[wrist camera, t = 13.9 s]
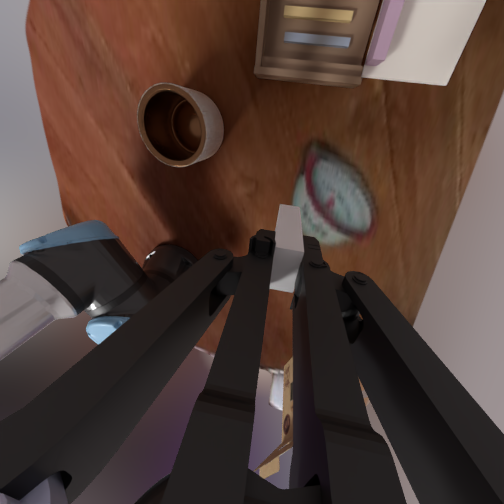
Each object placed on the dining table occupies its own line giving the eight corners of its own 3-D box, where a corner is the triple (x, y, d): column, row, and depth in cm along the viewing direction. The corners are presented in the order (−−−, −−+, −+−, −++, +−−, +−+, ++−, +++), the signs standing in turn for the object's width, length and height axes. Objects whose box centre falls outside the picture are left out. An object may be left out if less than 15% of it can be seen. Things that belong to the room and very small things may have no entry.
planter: (158, 132, 41) (125, 135, 32) (185, 74, 35) (153, 59, 27) (205, 171, 43) (185, 182, 35) (236, 121, 38) (221, 121, 29)
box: (290, 323, 62) (290, 463, 36) (352, 347, 63) (393, 499, 37) (264, 359, 73) (250, 485, 47) (317, 378, 74) (330, 512, 48)
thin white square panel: (359, 77, 32) (368, 71, 29) (387, -18, 27) (402, -40, 24) (442, 86, 31) (463, 81, 28) (487, -11, 26) (519, -33, 23)
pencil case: (257, 78, 34) (253, 73, 31) (268, -40, 28) (265, -63, 24) (353, 88, 33) (360, 84, 29) (387, -33, 26) (402, -56, 23)
